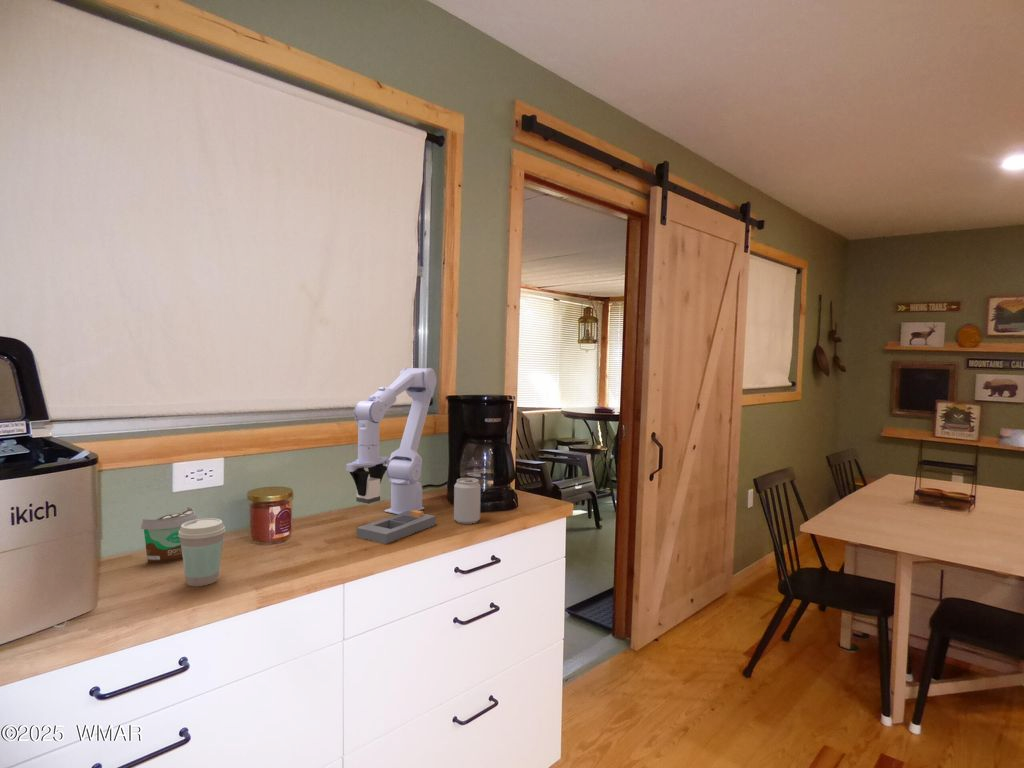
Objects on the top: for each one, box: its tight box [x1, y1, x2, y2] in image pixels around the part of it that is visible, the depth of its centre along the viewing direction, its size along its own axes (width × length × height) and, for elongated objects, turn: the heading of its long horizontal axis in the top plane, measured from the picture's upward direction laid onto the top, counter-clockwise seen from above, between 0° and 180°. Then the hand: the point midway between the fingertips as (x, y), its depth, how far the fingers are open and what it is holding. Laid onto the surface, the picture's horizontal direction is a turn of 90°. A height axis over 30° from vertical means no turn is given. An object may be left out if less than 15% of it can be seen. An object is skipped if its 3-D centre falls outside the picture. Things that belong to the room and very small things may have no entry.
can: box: [453, 477, 482, 525], centre depth 166 cm, size 8×8×12 cm
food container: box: [140, 506, 198, 564], centre depth 133 cm, size 12×6×10 cm, turn 160°
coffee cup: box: [178, 517, 226, 587], centre depth 119 cm, size 8×8×12 cm
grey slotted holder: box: [356, 510, 437, 545], centre depth 156 cm, size 20×10×4 cm, turn 150°
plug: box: [355, 476, 381, 505], centre depth 161 cm, size 4×4×6 cm
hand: (368, 493), depth 161 cm, fingers closed on plug, 4 cm apart
